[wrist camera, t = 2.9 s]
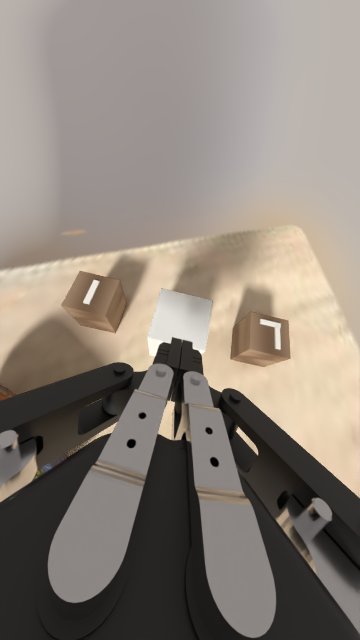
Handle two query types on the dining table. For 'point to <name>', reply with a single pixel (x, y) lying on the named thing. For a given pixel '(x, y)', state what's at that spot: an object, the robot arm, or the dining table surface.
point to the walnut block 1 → (96, 301)
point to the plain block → (180, 320)
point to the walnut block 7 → (260, 340)
